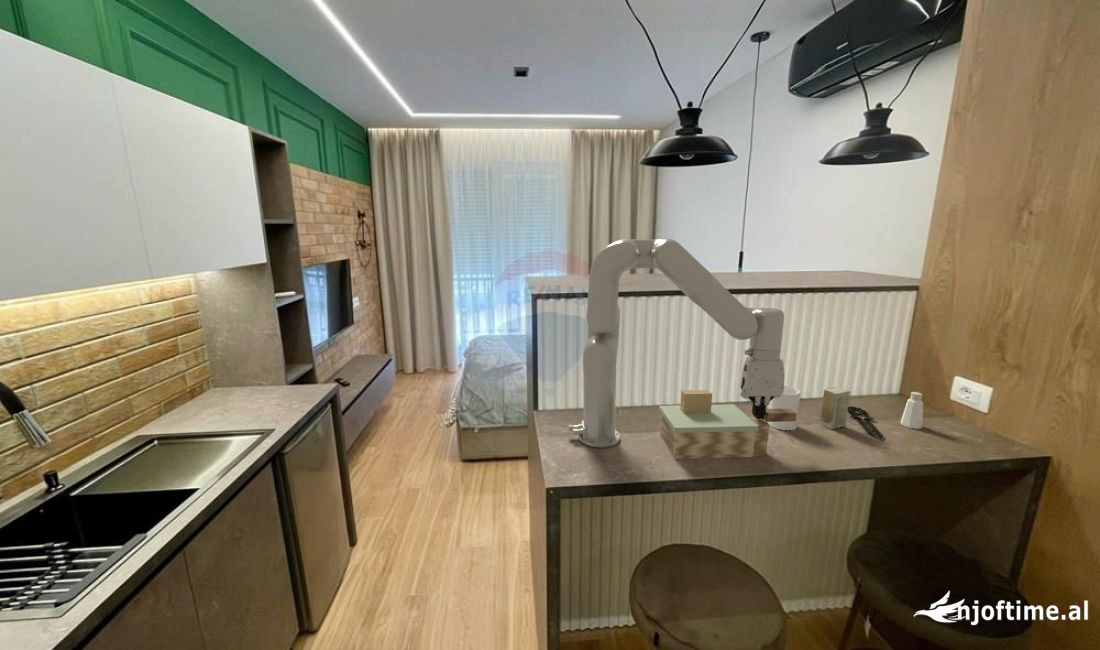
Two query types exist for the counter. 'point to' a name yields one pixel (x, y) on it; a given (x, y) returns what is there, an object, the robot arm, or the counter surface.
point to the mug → (786, 407)
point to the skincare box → (834, 407)
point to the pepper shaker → (913, 412)
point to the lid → (705, 415)
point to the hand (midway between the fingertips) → (758, 417)
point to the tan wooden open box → (716, 442)
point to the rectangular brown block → (780, 415)
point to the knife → (867, 420)
